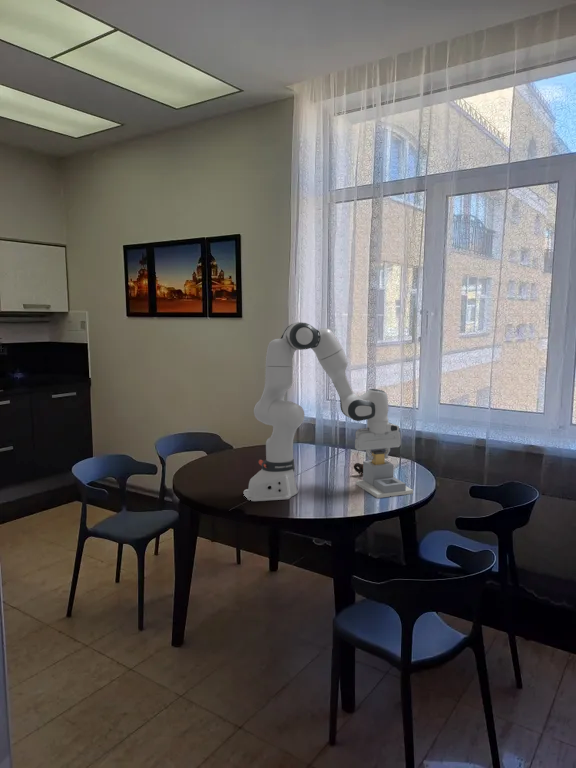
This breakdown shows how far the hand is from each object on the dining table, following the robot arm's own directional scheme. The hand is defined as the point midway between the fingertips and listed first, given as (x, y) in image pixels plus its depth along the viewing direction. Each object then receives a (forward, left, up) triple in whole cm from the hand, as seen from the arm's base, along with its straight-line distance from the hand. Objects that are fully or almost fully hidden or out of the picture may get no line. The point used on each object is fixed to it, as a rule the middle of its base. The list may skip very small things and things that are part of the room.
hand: (378, 458), depth 225 cm
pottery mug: (+2, +15, -12) cm, 19 cm away
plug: (0, 0, -5) cm, 5 cm away
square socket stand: (0, -5, -12) cm, 13 cm away
